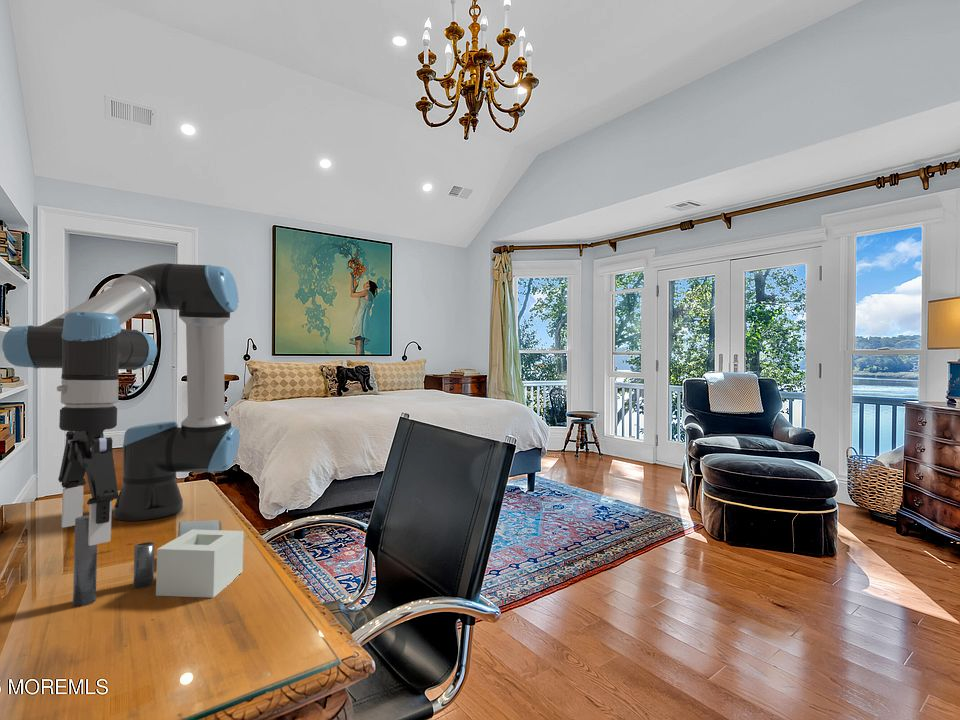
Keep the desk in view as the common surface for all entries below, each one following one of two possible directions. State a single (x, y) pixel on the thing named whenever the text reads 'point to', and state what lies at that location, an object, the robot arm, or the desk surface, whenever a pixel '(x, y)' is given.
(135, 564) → the short pin
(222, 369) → the robot arm
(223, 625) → the desk surface
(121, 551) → the desk surface
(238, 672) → the desk surface
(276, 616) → the desk surface
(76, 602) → the long pin
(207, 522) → the ceramic mug
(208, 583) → the hole block
